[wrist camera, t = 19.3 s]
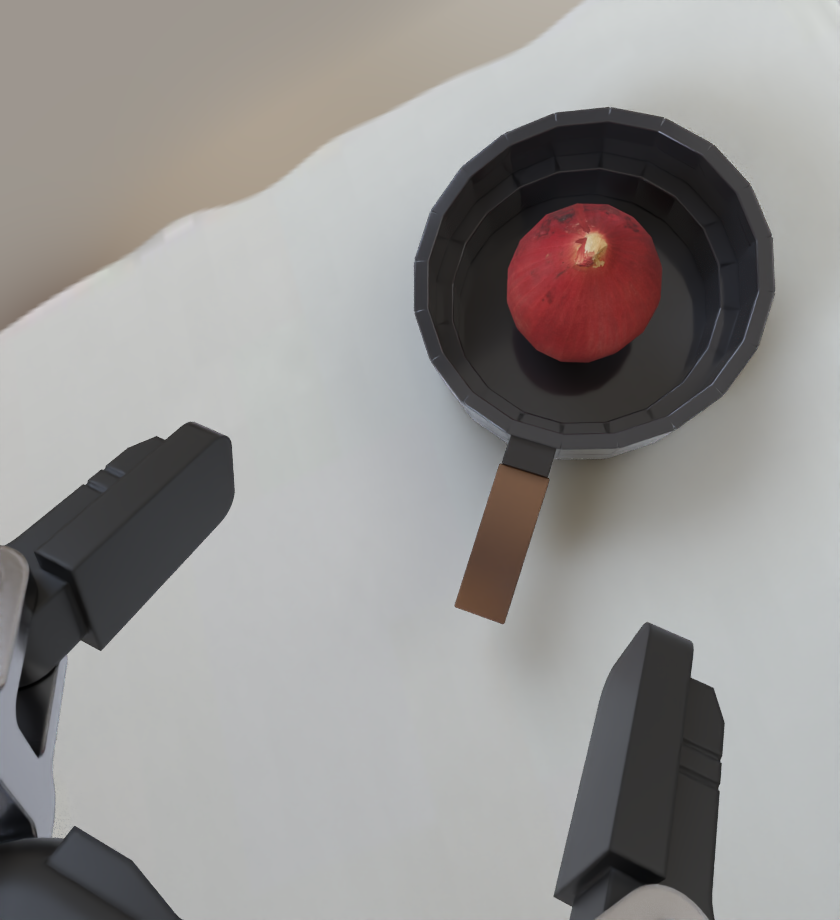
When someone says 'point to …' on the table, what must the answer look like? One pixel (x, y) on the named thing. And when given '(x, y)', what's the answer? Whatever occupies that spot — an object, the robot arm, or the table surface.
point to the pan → (682, 287)
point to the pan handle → (506, 530)
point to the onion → (584, 282)
